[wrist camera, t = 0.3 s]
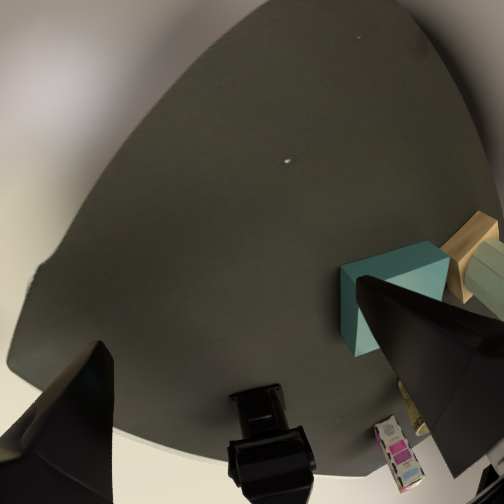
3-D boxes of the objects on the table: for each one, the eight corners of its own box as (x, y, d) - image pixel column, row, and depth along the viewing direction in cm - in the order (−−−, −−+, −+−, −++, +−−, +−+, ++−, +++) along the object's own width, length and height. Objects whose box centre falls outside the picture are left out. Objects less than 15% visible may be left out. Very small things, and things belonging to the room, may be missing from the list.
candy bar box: (371, 425, 45) (402, 489, 31) (393, 413, 45) (427, 475, 31) (374, 440, 51) (400, 494, 36) (394, 430, 50) (421, 483, 36)
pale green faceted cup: (491, 279, 28) (527, 310, 21) (458, 297, 27) (496, 334, 21) (502, 232, 25) (544, 260, 18) (469, 245, 24) (517, 280, 18)
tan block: (484, 254, 30) (500, 265, 27) (448, 289, 31) (463, 304, 28) (478, 210, 27) (497, 220, 24) (438, 248, 28) (457, 262, 25)
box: (417, 304, 31) (435, 323, 28) (340, 333, 31) (354, 357, 27) (427, 239, 27) (450, 256, 23) (340, 265, 26) (359, 288, 23)
